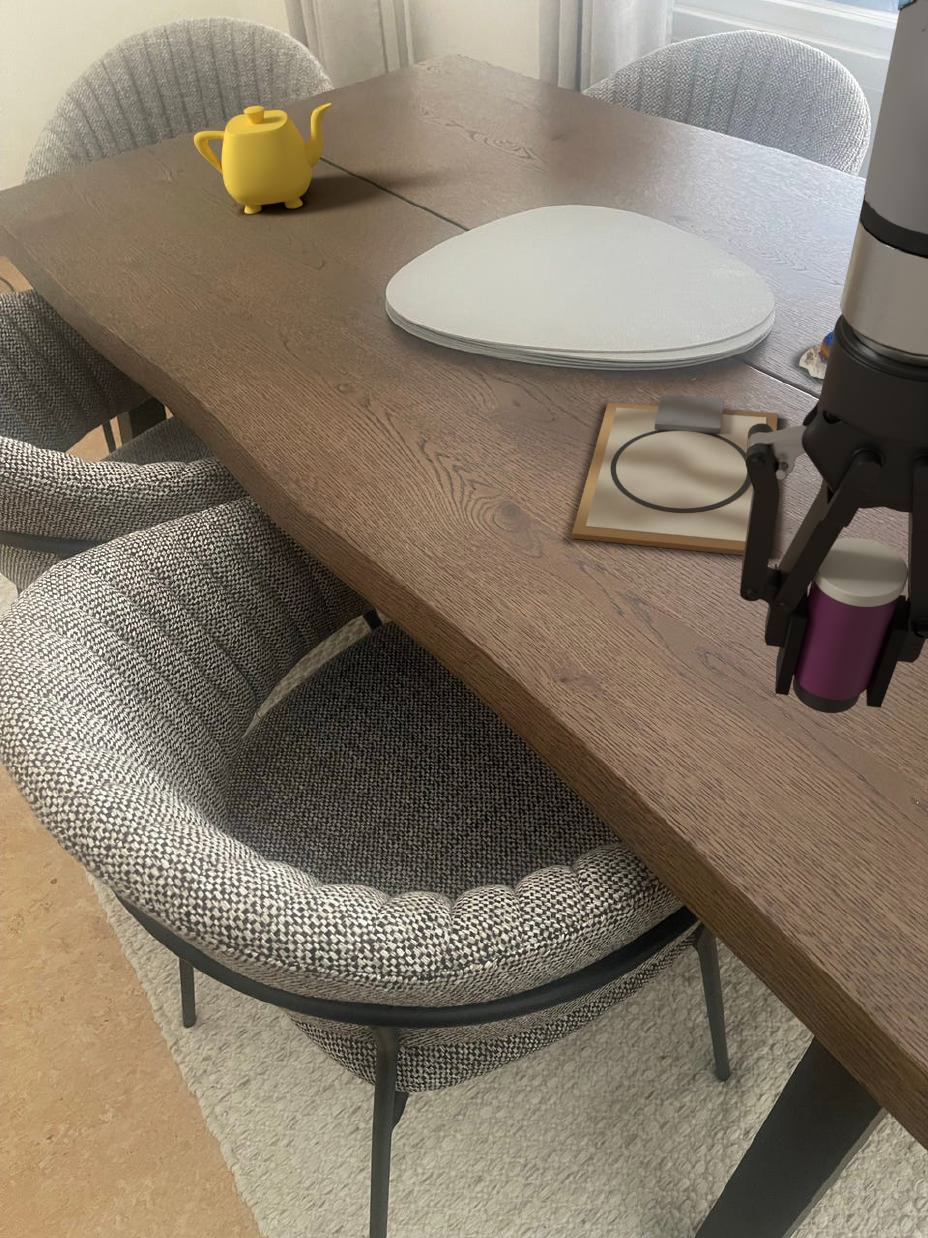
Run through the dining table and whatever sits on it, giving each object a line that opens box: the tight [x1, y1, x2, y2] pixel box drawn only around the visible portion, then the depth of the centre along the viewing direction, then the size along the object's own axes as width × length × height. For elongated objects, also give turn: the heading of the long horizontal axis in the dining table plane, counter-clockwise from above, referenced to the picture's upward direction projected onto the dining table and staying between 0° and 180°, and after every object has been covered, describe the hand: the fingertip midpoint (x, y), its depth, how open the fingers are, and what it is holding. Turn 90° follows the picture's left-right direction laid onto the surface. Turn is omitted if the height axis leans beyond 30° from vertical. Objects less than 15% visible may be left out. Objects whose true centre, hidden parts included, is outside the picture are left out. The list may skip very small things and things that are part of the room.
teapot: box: [193, 102, 332, 215], centre depth 134 cm, size 13×20×12 cm
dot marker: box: [792, 537, 908, 714], centre depth 52 cm, size 5×5×10 cm
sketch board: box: [571, 394, 779, 556], centre depth 83 cm, size 21×16×1 cm
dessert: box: [798, 329, 834, 380], centre depth 93 cm, size 8×7×6 cm
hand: (827, 682), depth 56 cm, fingers closed on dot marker, 4 cm apart
